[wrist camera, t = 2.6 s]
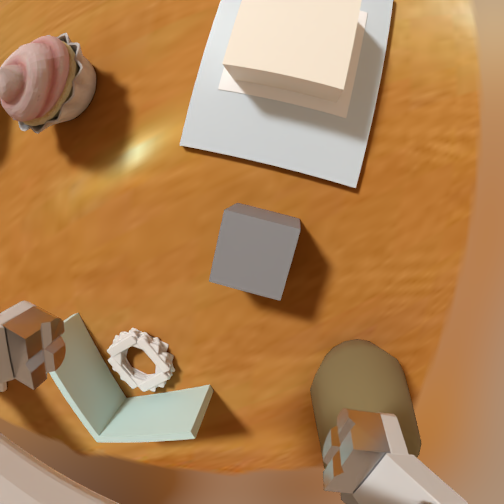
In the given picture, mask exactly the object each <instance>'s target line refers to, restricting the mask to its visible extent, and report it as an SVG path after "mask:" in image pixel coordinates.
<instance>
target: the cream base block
mask: <svg viewBox="0 0 504 504" xmlns="http://www.w3.org/2000/svg"><path fill="white" fill-rule="evenodd" d="M361 1H362V0H242V1H241V4H240V7H239V10H238V13H237V16H236V20H235V23H234V26H233V29H232V33H231V36H230V39H229V42H228V46H227V49H226V53H225V56H224V60H223V63H222V64H223V66H224V67H225V68H226V70H227V71H228V73H229V74H230V75H231V77H232V78H233V80H239V81H245V82H250V83H256V84H261V85H266V86H271V87H276V88H280V89H285V90H289V91H294V92H298V93H302V94H306V95H310V96H314V97H318V98H322V99H325V100H329V101H333V102H337V100H338V99H339V97H340V95H341V93H342V92H343V90H344V86H345V81H346V77H347V72H348V67H349V63H350V58H351V53H352V48H353V43H354V38H355V33H356V28H357V23H358V18H359V12H360V7H361Z"/></svg>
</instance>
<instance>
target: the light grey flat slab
mask: <svg viewBox="0 0 504 504" xmlns="http://www.w3.org/2000/svg"><path fill="white" fill-rule="evenodd" d="M241 1H242V0H221V1H220V4H219V7H218V10H217V13H216V16H215V19H214V22H213V25H212V28H211V31H210V35H209V38H208V41H207V44H206V48H205V51H204V54H203V57H202V61H201V64H200V68H199V71H198V75H197V78H196V82H195V86H194V89H193V93H192V97H191V101H190V105H189V108H188V112H187V116H186V120H185V124H184V129H183V133H182V137H181V141H180V145H181V146H186V147H191V148H196V149H201V150H206V151H211V152H216V153H221V154H225V155H230V156H235V157H239V158H243V159H248V160H252V161H256V162H261V163H265V164H269V165H273V166H277V167H281V168H285V169H289V170H293V171H296V172H300V173H304V174H308V175H311V176H315V177H319V178H322V179H326V180H329V181H333V182H336V183H340V184H343V185H346V186H350V187H353V188H356V185H357V181H358V178H359V174H360V170H361V166H362V162H363V158H364V154H365V150H366V145H367V141H368V137H369V132H370V128H371V124H372V119H373V114H374V110H375V105H376V100H377V95H378V90H379V85H380V80H381V75H382V69H383V64H384V58H385V52H386V46H387V40H388V34H389V27H390V20H391V13H392V6H393V0H362V1H361V7H360V12H359V18H358V23H357V28H356V33H355V38H354V43H353V48H352V53H351V58H350V63H349V67H348V72H347V77H346V81H345V86H344V90H343V92H342V93H341V95H340V97H339V99H338V100H337V102H333V101H329V100H325V99H322V98H318V97H314V96H310V95H306V94H302V93H298V92H294V91H289V90H285V89H280V88H276V87H271V86H266V85H261V84H256V83H250V82H245V81H239V80H233V78H232V77H231V75H230V74H229V73H228V71H227V70H226V68H225V67H224V66H223V64H222V63H223V60H224V56H225V53H226V49H227V46H228V42H229V39H230V36H231V33H232V29H233V26H234V23H235V20H236V16H237V13H238V10H239V7H240V4H241Z"/></svg>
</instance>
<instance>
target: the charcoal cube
mask: <svg viewBox="0 0 504 504" xmlns="http://www.w3.org/2000/svg"><path fill="white" fill-rule="evenodd" d="M300 230H301V228H300V219H299V218H295V217H291V216H287V215H283V214H280V213H276V212H272V211H268V210H264V209H260V208H256V207H252V206H249V205H245V204H241V203H236V204H234V205H233V206H231V207H229V208H227V209H225V210H224V214H223V218H222V223H221V227H220V232H219V236H218V241H217V246H216V250H215V255H214V260H213V264H212V269H211V274H210V279H209V281H210V282H213V283H217V284H220V285H224V286H227V287H231V288H234V289H238V290H242V291H245V292H249V293H253V294H256V295H260V296H264V297H268V298H271V299H275V300H279V301H280V300H281V297H282V294H283V290H284V287H285V283H286V280H287V276H288V273H289V269H290V266H291V262H292V259H293V255H294V252H295V248H296V245H297V241H298V237H299V234H300Z"/></svg>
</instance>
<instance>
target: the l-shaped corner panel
mask: <svg viewBox="0 0 504 504" xmlns="http://www.w3.org/2000/svg"><path fill="white" fill-rule="evenodd" d="M63 322H64V330H65V332H64V333H63V334H62V336H61V337H62V339H63V341H64V343H65V346H66V353H65V358H64V360H63V362H62V364H61V366H60V367H59V368H58V369H57V370H56V371H53V372H49V373H50V375H51V377H52V378H53V380H54V382H55V383H56V385H57V386H58V388H59V389H60V391H61V393H62V394H63V396H64V397H65V399H66V400H67V402H68V403H69V405H70V406H71V408H72V409H73V410H74V412H75V413H76V415H77V416H78V418H79V419H80V420H81V422H82V423H83V424H84V426H85V427H86V429H87V430H88V431H89V432H90V434H91V435H92V436H93V438H94V439H95V440H96V442H156V441H173V440H186V439H195V438H196V436H197V433H198V430H199V428H200V425H201V423H202V420H203V417H204V415H205V412H206V410H207V407H208V404H209V402H210V399H211V397H212V394H213V389H212V388H211V386H210V385H205V386H200V387H195V388H189V389H183V390H178V391H171V392H165V393H159V394H152V395H145V396H137V397H129V398H126V396H125V395H124V393H123V392H122V390H121V388H120V387H119V385H118V384H117V382H116V380H115V379H114V377H113V375H112V374H111V372H110V370H109V369H108V367H107V365H106V363H105V362H104V360H103V358H102V356H101V355H100V353H99V351H98V349H97V347H96V346H95V344H94V342H93V340H92V338H91V336H90V334H89V332H88V331H87V329H86V327H85V325H84V323H83V321H82V319H81V317H80V315H79V313H76V314H73V315H71V316H70V317H69V318H67V319H66V320H64V321H63ZM131 346H133V347H136V348H139V349H142V350H144V352H145V353H146V354H147V355H148V356H149V358H150V359H151V360H152V361H153V362H154V363H155V364H156V371H155V373H154V374H149V375H147V374H145V373H143V372H141V371H139V370H137V369H135V368H133V367H131V365H130V363H129V361H128V360H127V358H126V356H127V352H128V348H130V347H131ZM167 349H168V344H167V343H164V342H162V341H160V340H159V338H158V337H155V338H154V337H151V336H149V335H148V334H147V333H146V332H141V331H139V330H137V329H135V328H132V329H131V330H129V333H128V332H121V333H120V336H118V335H116V336H115V339H114V340H113V344H112V345H111V346H110V347H109V349H107V352H108V353H109V354H110V355H111V357H110V358H109V359H108V362H109V363H110V364H111V365H112V367H113V370H114V371H116V372H118V374H119V375H120V379H121V380H123V381H126V383H127V384H128V385H129V386H130V387H131V388H132V389H134V388H136V387H137V386H138V387H139V388H140V389H141V390H142V391H143V392H145V391H147V390H151V391H154V392H155V391H156V388H157V386H158V387H162V388H164V385H165V384H166V381H167V380H169V379H170V378H171V376H172V375H173V374H172V373H171V372H174V371H175V369H174V367H173V363H172V360H173V357H174V356H173V355H172V354H170V353H167V352H166V351H167Z"/></svg>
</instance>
